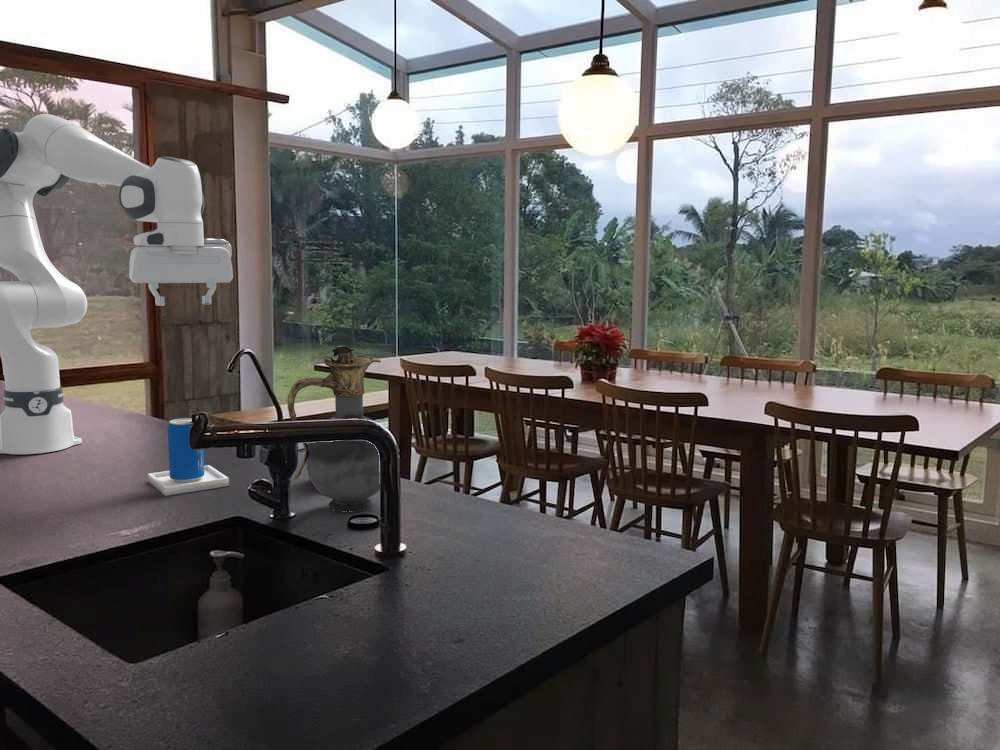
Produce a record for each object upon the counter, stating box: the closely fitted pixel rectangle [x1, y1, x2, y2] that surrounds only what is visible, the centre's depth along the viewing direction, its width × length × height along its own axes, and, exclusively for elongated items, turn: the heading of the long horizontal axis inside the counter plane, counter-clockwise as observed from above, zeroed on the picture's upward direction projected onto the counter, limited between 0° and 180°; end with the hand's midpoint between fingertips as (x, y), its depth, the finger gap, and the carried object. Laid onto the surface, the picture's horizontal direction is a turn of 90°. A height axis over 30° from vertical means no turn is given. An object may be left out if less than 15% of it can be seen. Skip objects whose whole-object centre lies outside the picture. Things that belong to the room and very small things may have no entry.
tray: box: [147, 464, 230, 497], centre depth 162 cm, size 12×12×2 cm
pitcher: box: [287, 345, 381, 513], centre depth 146 cm, size 11×19×30 cm, turn 121°
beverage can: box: [167, 417, 205, 483], centre depth 161 cm, size 6×6×12 cm
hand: (183, 305), depth 169 cm, fingers open, 8 cm apart
